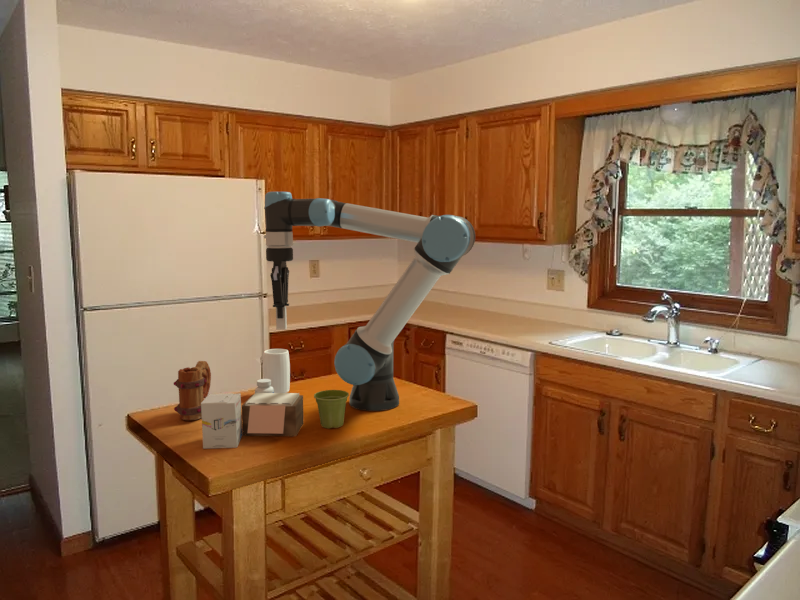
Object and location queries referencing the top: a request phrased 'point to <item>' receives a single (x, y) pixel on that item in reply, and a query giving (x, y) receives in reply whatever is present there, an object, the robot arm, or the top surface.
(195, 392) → the mug
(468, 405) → the top surface
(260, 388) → the pill bottle
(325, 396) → the plant pot
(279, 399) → the block
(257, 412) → the panel
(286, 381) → the cup
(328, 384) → the top surface
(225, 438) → the ink box
